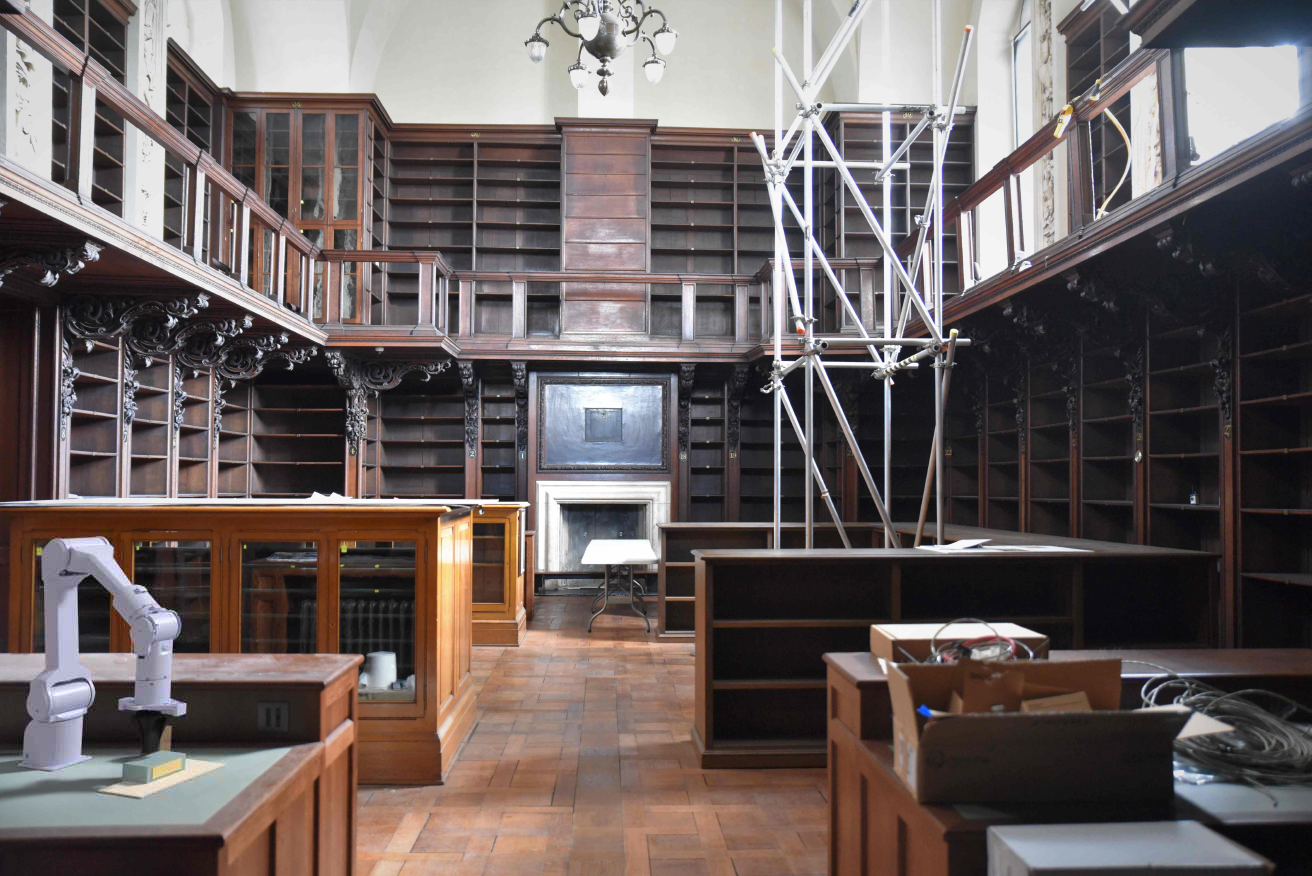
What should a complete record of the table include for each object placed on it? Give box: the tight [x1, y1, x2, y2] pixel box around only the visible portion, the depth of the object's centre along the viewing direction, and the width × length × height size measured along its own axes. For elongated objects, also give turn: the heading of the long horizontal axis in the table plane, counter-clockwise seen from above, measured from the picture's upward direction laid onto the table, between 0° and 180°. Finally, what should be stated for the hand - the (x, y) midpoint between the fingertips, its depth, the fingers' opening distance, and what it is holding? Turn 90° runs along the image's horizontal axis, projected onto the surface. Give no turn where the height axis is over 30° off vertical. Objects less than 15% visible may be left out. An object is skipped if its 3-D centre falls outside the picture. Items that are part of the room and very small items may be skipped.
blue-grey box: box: [121, 750, 187, 784], centre depth 150 cm, size 3×8×6 cm
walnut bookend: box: [139, 724, 172, 758], centre depth 161 cm, size 5×2×6 cm, turn 72°
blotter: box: [97, 758, 227, 800], centre depth 149 cm, size 10×18×1 cm, turn 162°
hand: (149, 751), depth 150 cm, fingers closed
